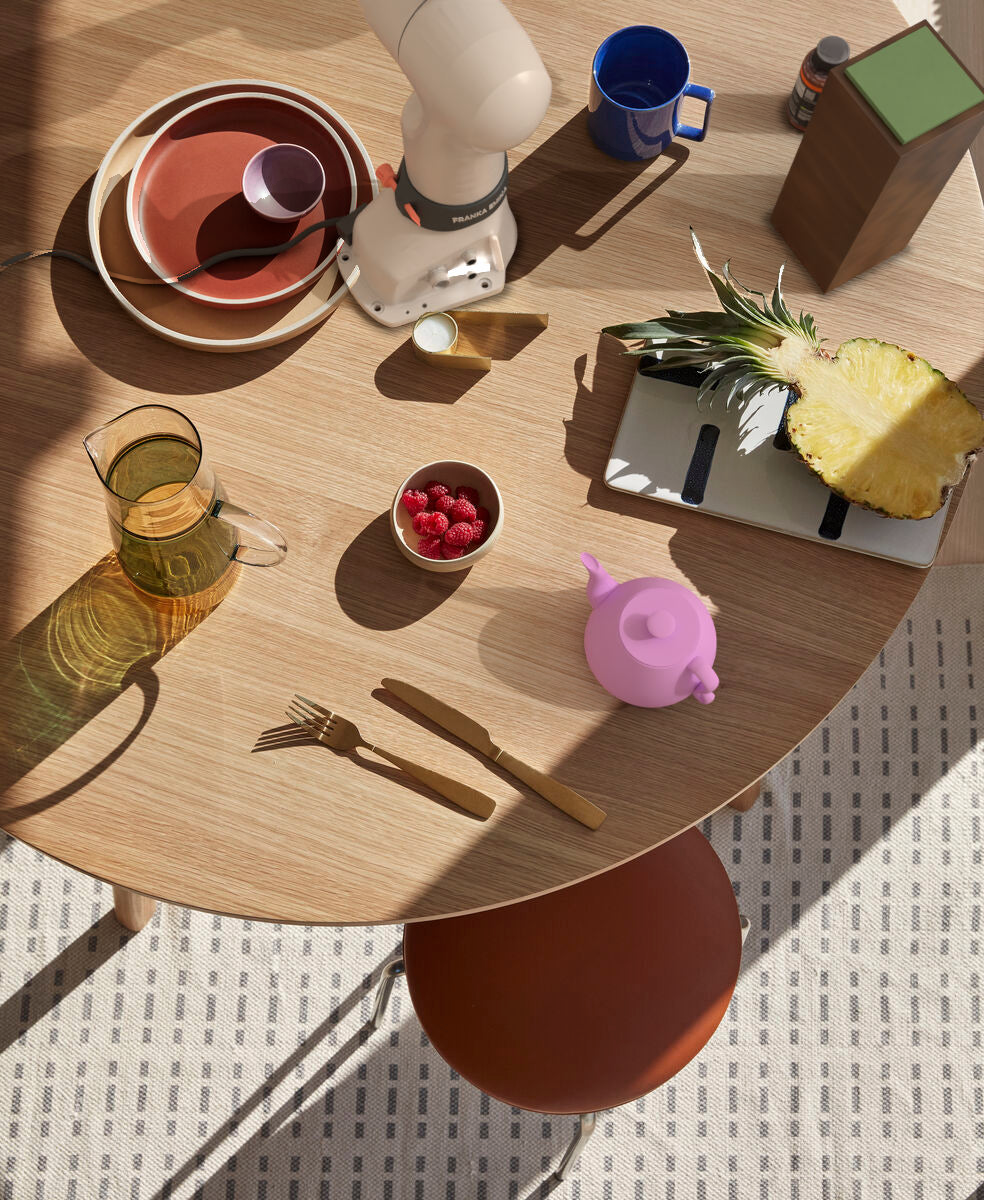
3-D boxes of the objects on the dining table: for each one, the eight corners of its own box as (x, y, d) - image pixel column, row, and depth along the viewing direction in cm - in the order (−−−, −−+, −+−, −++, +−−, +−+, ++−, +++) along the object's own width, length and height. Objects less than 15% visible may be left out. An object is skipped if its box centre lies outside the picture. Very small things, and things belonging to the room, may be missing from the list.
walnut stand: (824, 294, 134) (900, 157, 109) (768, 219, 137) (829, 69, 112) (904, 249, 136) (997, 103, 110) (847, 176, 138) (925, 18, 113)
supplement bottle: (832, 96, 141) (860, 30, 130) (831, 136, 140) (859, 72, 129) (785, 92, 141) (809, 26, 130) (784, 132, 140) (808, 68, 129)
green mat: (902, 145, 109) (904, 141, 109) (843, 72, 112) (845, 68, 111) (983, 100, 111) (986, 96, 110) (923, 29, 113) (925, 25, 112)
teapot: (531, 626, 124) (535, 598, 112) (617, 541, 126) (630, 504, 114) (662, 752, 120) (680, 737, 108) (748, 661, 123) (776, 637, 111)
